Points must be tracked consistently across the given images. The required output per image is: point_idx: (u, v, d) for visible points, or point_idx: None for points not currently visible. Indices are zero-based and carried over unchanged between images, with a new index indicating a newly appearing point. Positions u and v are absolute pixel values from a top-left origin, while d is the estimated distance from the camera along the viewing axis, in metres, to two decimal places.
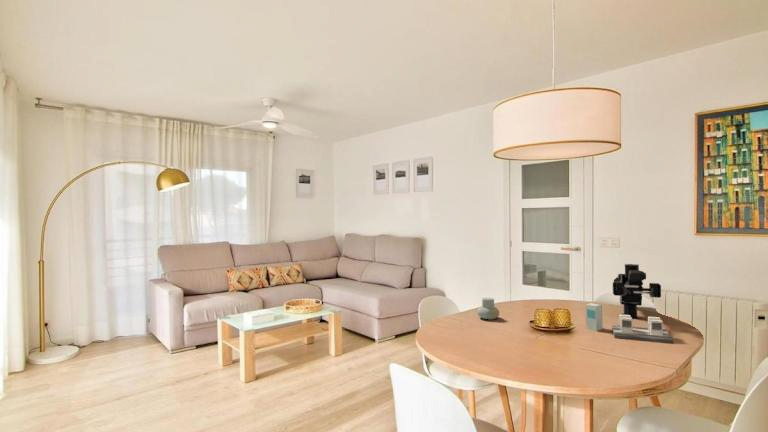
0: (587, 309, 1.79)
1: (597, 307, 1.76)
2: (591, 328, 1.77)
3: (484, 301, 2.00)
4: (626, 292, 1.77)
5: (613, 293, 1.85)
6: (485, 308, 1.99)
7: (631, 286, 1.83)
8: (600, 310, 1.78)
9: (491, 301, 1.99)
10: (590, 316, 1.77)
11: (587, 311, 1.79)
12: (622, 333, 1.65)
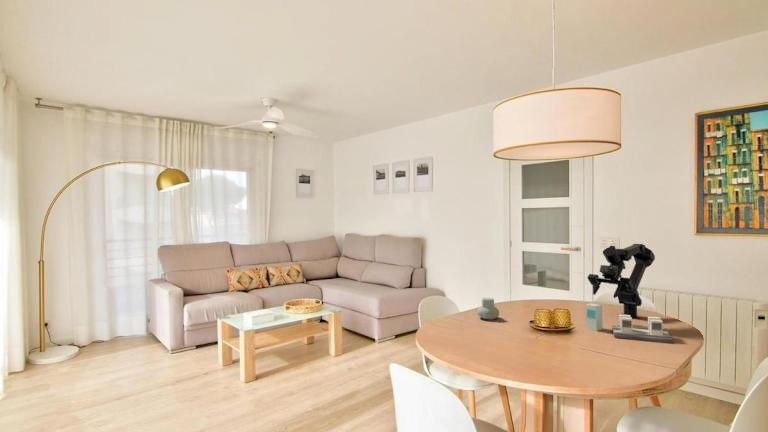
0: (587, 309, 1.79)
1: (597, 307, 1.76)
2: (591, 328, 1.77)
3: (484, 301, 2.00)
4: None
5: (591, 283, 1.95)
6: (485, 308, 1.99)
7: (605, 279, 1.88)
8: (600, 310, 1.78)
9: (491, 301, 1.99)
10: (590, 316, 1.77)
11: (587, 311, 1.79)
12: (622, 333, 1.65)
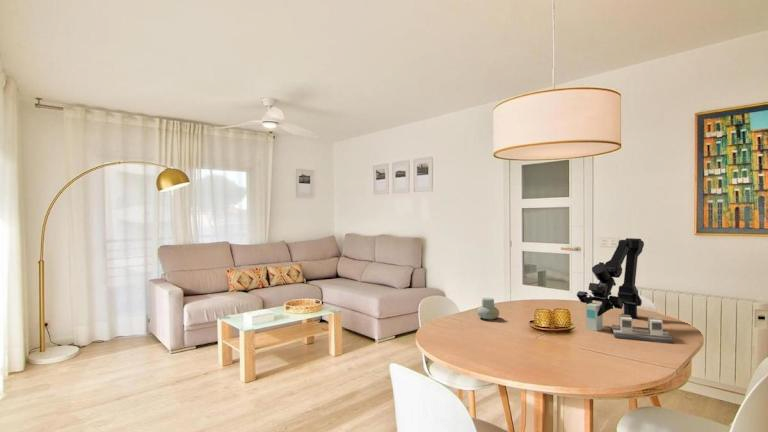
0: (587, 309, 1.79)
1: (597, 307, 1.76)
2: (591, 328, 1.77)
3: (484, 301, 2.00)
4: None
5: None
6: (485, 308, 1.99)
7: (594, 297, 1.82)
8: None
9: (491, 301, 1.99)
10: (590, 316, 1.77)
11: (587, 311, 1.79)
12: (622, 333, 1.65)
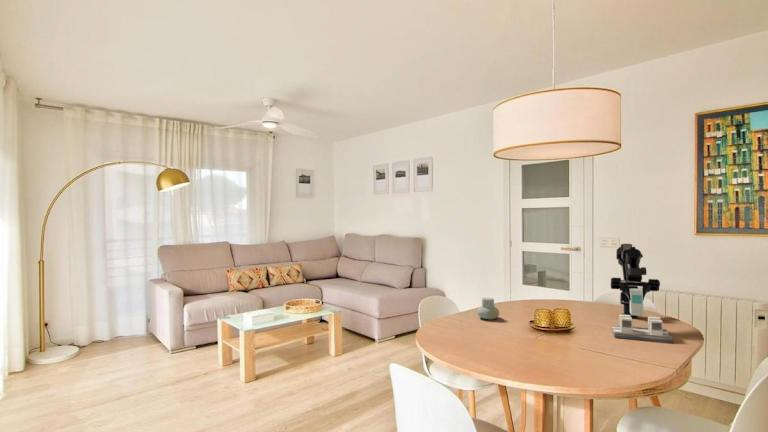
0: (632, 295, 1.75)
1: None
2: (637, 314, 1.74)
3: (484, 301, 2.00)
4: (628, 298, 1.77)
5: (611, 287, 1.85)
6: (485, 308, 1.99)
7: (629, 282, 1.81)
8: None
9: (491, 301, 1.99)
10: (636, 301, 1.74)
11: (632, 297, 1.75)
12: (622, 333, 1.65)
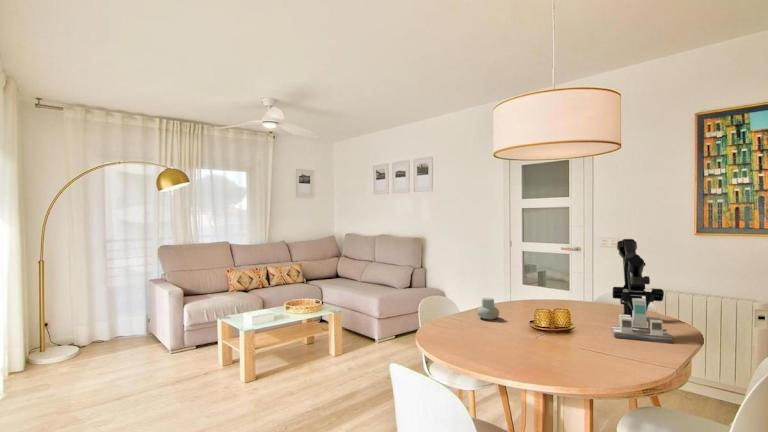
0: (635, 305, 1.68)
1: (645, 302, 1.68)
2: (640, 325, 1.67)
3: (484, 301, 2.00)
4: (631, 308, 1.70)
5: None
6: (485, 308, 1.99)
7: (632, 291, 1.74)
8: None
9: (491, 301, 1.99)
10: (639, 312, 1.67)
11: (635, 307, 1.68)
12: (622, 333, 1.65)
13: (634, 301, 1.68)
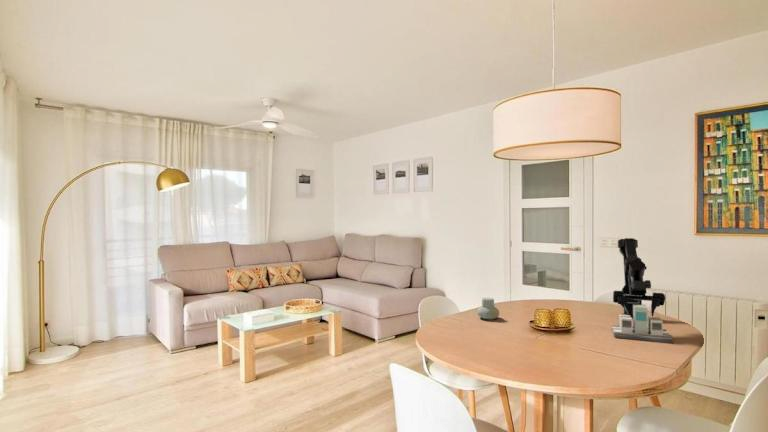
0: (636, 312, 1.66)
1: (646, 309, 1.65)
2: (641, 332, 1.65)
3: (484, 301, 2.00)
4: (627, 312, 1.69)
5: (613, 301, 1.76)
6: (485, 308, 1.99)
7: (633, 295, 1.72)
8: None
9: (491, 301, 1.99)
10: (640, 319, 1.65)
11: (636, 314, 1.65)
12: (622, 333, 1.65)
13: (635, 308, 1.66)
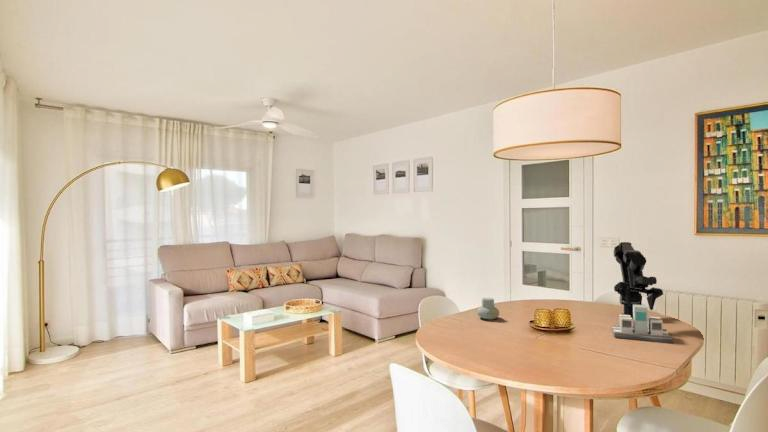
0: (636, 312, 1.66)
1: (646, 309, 1.65)
2: (641, 332, 1.65)
3: (484, 301, 2.00)
4: (628, 304, 1.77)
5: (614, 290, 1.82)
6: (485, 308, 1.99)
7: (635, 288, 1.80)
8: None
9: (491, 301, 1.99)
10: (640, 319, 1.65)
11: (636, 314, 1.65)
12: (622, 333, 1.65)
13: (635, 308, 1.66)
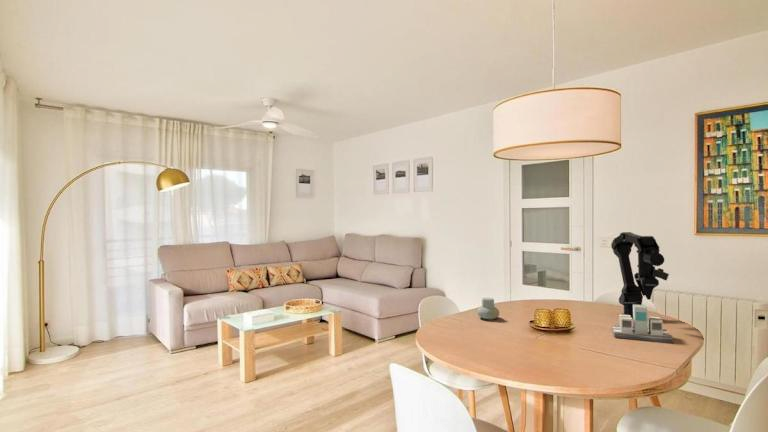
0: (636, 312, 1.66)
1: (646, 309, 1.65)
2: (641, 332, 1.65)
3: (484, 301, 2.00)
4: (648, 297, 1.77)
5: (644, 284, 1.74)
6: (485, 308, 1.99)
7: None
8: None
9: (491, 301, 1.99)
10: (640, 319, 1.65)
11: (636, 314, 1.65)
12: (622, 333, 1.65)
13: (635, 308, 1.66)
